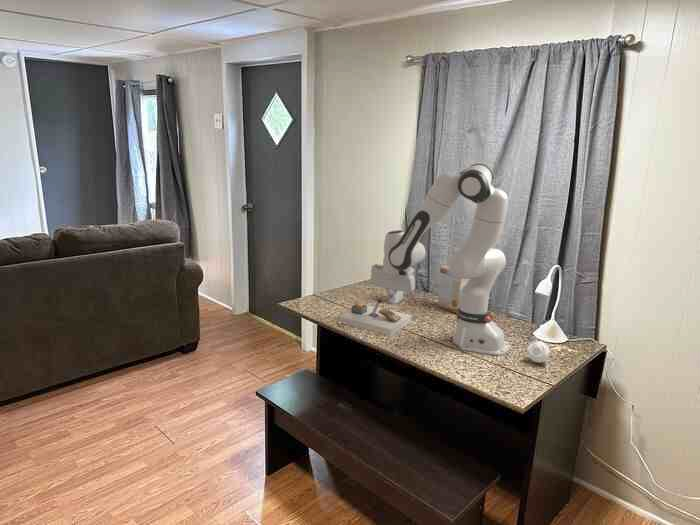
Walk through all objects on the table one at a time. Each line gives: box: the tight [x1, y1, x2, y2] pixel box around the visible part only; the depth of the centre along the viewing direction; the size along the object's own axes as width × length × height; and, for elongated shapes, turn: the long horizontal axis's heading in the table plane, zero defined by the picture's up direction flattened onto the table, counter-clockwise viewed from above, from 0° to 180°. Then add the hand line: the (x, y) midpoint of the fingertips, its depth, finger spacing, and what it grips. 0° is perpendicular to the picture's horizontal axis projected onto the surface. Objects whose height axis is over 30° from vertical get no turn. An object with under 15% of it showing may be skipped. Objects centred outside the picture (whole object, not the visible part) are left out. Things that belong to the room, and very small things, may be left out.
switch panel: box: [338, 303, 412, 337], centre depth 216 cm, size 26×20×6 cm
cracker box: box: [437, 264, 469, 315], centre depth 233 cm, size 14×6×21 cm, turn 34°
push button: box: [355, 301, 364, 308], centre depth 220 cm, size 3×3×2 cm
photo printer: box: [388, 289, 404, 305], centre depth 244 cm, size 10×4×12 cm, turn 149°
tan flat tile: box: [378, 307, 401, 322], centre depth 212 cm, size 9×5×1 cm, turn 59°
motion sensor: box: [526, 340, 551, 364], centre depth 181 cm, size 8×8×8 cm
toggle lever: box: [372, 298, 383, 314], centre depth 215 cm, size 2×2×8 cm
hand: (391, 297), depth 210 cm, fingers closed
